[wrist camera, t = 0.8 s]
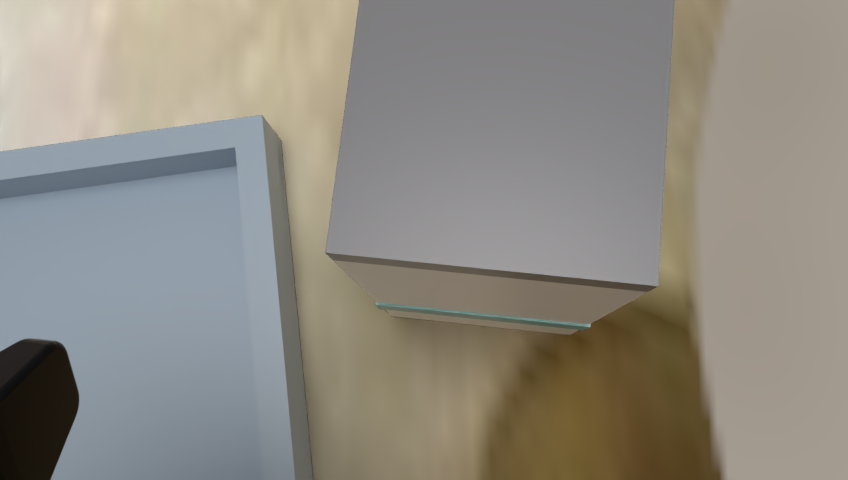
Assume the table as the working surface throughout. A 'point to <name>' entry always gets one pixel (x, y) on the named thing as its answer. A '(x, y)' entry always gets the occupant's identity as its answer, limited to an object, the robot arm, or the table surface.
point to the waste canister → (504, 159)
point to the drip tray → (162, 299)
